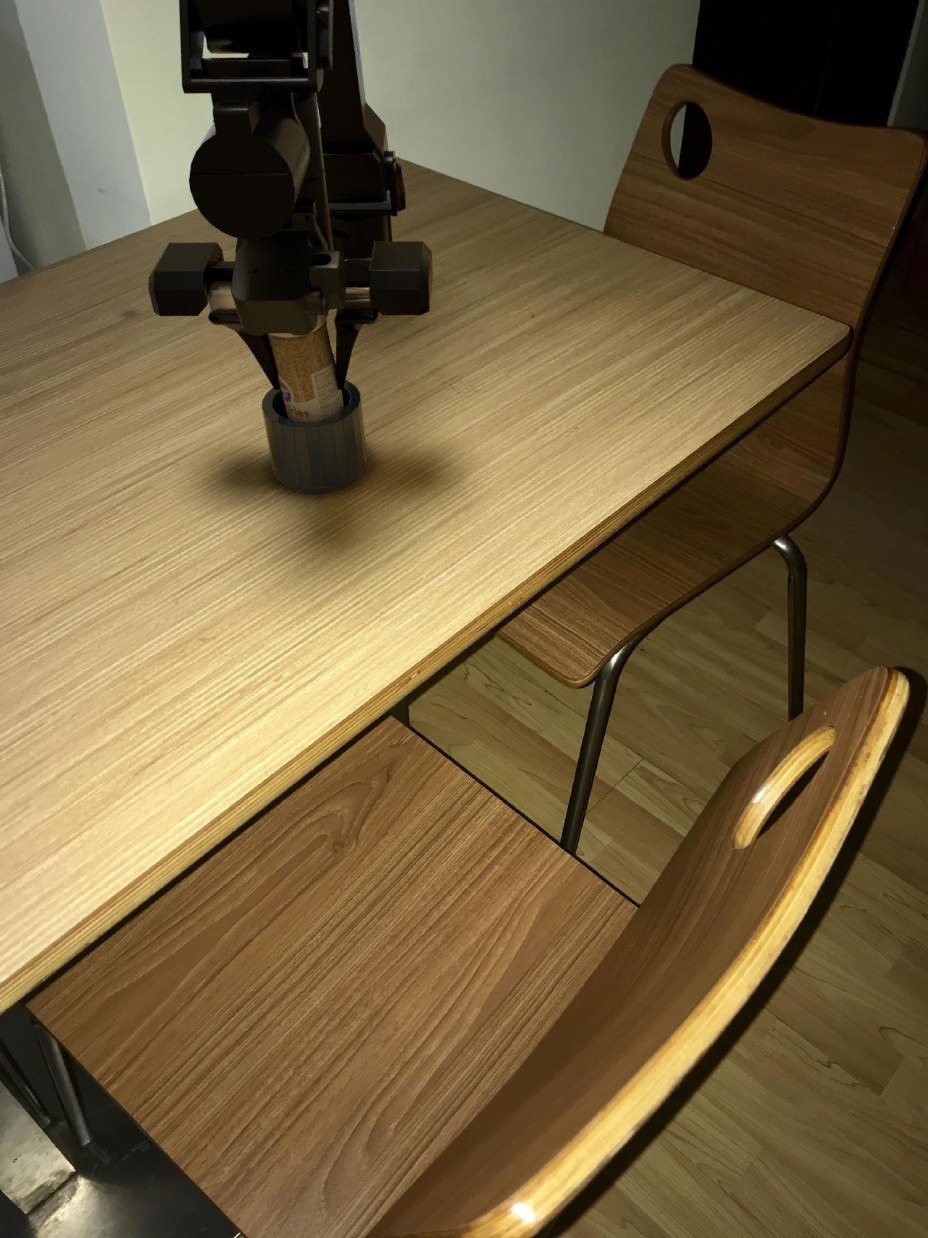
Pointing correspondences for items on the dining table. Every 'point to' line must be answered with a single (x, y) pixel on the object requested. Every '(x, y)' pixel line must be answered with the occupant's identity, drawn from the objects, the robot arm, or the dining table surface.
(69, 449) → the dining table surface
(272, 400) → the pot
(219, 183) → the robot arm
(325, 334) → the sprinkles bottle
